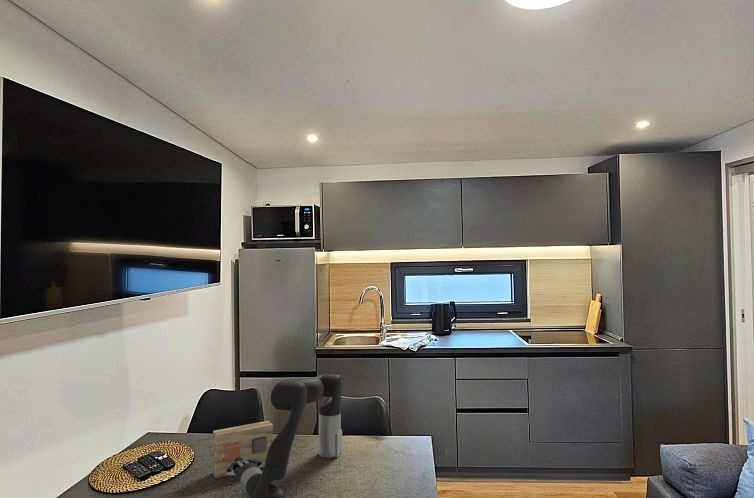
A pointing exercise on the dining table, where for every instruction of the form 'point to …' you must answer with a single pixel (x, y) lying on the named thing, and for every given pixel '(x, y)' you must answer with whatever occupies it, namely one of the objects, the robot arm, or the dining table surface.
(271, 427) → the key panel
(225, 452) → the brick red key
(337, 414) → the robot arm
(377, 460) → the dining table surface
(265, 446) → the graphite key
